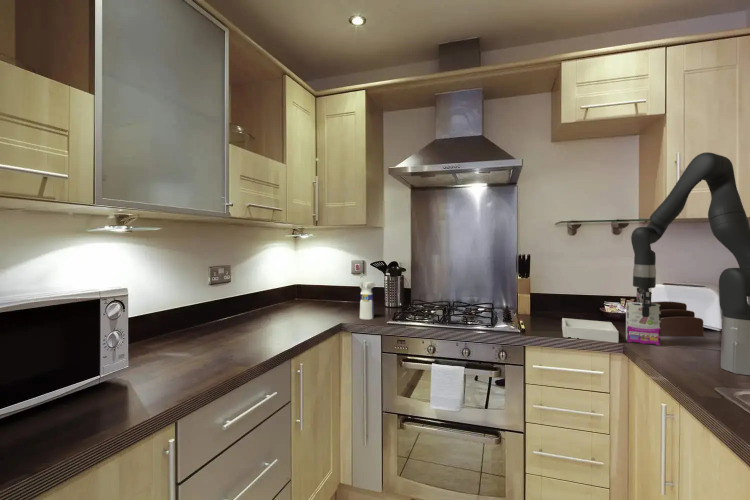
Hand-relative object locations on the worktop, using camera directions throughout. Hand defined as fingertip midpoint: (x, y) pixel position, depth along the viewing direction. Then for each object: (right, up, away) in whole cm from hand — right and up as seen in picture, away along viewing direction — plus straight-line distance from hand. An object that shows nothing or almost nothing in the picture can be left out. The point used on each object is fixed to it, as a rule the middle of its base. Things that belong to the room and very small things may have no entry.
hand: (643, 314), depth 149 cm
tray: (-15, -11, +13) cm, 23 cm away
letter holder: (+25, -12, +15) cm, 31 cm away
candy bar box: (0, -12, 0) cm, 12 cm away
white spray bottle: (-115, -10, +46) cm, 124 cm away
